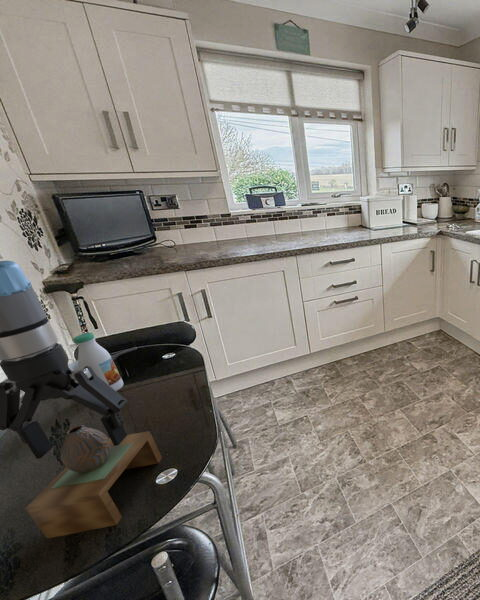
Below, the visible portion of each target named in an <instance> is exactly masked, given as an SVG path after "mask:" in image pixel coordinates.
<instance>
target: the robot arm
mask: <svg viewBox="0 0 480 600" xmlns="http://www.w3.org/2000/svg"><path fill="white" fill-rule="evenodd" d="M69 361H70V360H69V357H68V355H67V353H66V351H65V349H64V347H63V345H62V344H61V343H59V338H58V336H57V333H56V332H55V330H54V329H53V326H52V325H51V323H50V320H49V319H48V316H47V314H46V312H45V309H43V306H42V304H41V302H40V299H39V298H38V295H37V293H36V292H35V290H34V287H33V286H32V282H31V280H30V279H28V278H27V276H26V274H25V273H24V271H23V269H22V268H21V266H20V265H19V263H17V262H15V261H13V260H0V368H1V370H2V371H3V374H4V375H5V377H6V379H4V380H3V381H1V382H0V431H6V430H11V431H13V432H16V433H17V435H18V436H19V438H20V439H21V441H22V442H23V443H24V444H27V446H28V447H29V449H30V450H31V452H32V454H33V455H34V457H35V459H36V460H38V459H42V458H43V457H44V456H45V455H46V454H48V452H50V451H51V450H52V449H54V446H53V445H52V443H51V441H50V439H49V438H48V437H47V434H46V433H45V431H44V430H43V428H42V426H41V425H40V422H39V421H38V420H35V418H34V415H35V413H36V411H37V409H38V407H39V405H40V403H41V402H42V401H47V400H49V399H51V400H52V399H53V400H54V399H55V400H56V399H60V398H61V399H64V400H67V401H68V400H71V401H74V402H76V403H77V404H79V405H82V406H84V407H85V408H88V409H90V410H91V411H94V412H95V413H97V414H99V415H102V417H101V418H100V421H101V423H102V425H103V426H104V429H105V431H106V433H107V435H108V436H109V437H108V438H111V440H112V442H113V444H114V446H117V445H119V444H120V443H121V442H122V441H123V439H124V438H125V437H126V436H127V435H128V433H127V431H126V430H125V427H124V423H125V420H124V417H123V416H122V414H121V412H120V411H121V410H122V409H123V408H124V407H125V406H127V404H129V400H127V398H125V397H124V396H123V395H121V394H120V393H119V392H118V391H115V390H114V389H113V388H111V387H110V386H109V385H108V384H106V383H105V382H104V381H103V380H101V379H100V378H99V377H98V376H96V374H95V373H94V371H93V369H92V368H91V367H90V366H86V367H84V368H83V369H81V370H78V371H74V372H73V371H72V370H71V369H70V368H69V367H68V365H69ZM72 388H73V389H72ZM21 391H22V392H23V393H24V394H23V396H22V399H21ZM20 404H21V405H20Z"/></svg>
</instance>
